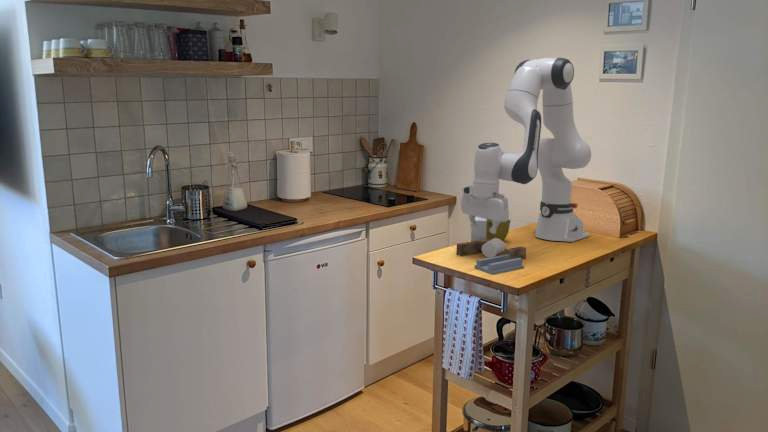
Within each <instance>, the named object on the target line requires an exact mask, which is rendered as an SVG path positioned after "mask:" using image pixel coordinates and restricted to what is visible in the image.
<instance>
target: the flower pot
mask: <svg viewBox="0 0 768 432" xmlns="http://www.w3.org/2000/svg"><path fill="white" fill-rule="evenodd" d="M492 226H493V224H492V220H488V219H487V236H486V239H489V238H490V239H494V238H498V239H500V240H501V241H503V242H504V241H505V239H506V238H507V236H508V234H509V231H510V226H511V219H509V218H508V220H507V222H500V223H499V225H498V227H497V228H496V233H494V234H492V233H490V232H489V231H490V228H492Z"/></svg>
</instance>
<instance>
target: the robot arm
mask: <svg viewBox="0 0 768 432" xmlns="http://www.w3.org/2000/svg"><path fill="white" fill-rule="evenodd" d="M574 76H575V68H574V64H573V63H572V62H571V60H570V59H568V58H565V57H564V58H563V57H542V58H536V59H527V60H523V61H521V62H519V63H518V64H517V66H516V67H515V69H514V75H513V77H512V79H511V81H510V84H509V85H508V89H507V92H506V95H505V100H504V103H503V105H504V107H503V108H504V112H505V113H506V114H507V115H508V117H509V118H510V119H512V121H515V122H517V123H518V124H521V125H522V126H523V127H524V137H523V138H524V139H523V145H522V151H521V152H519V153H515V152H514V153H513V152H507V151H504V150H502V149H501V147H500V144H499V143H496V142H483V143H481V144H479V145H478V146H477V147H476V151H475V154H474V161H473V171H474V177H473V179H472V184H471V185H467V186H463V187H462V189H461V192H462V195H461V201H460V203H461V204H460V205H461V206H460V210H461V212H462V214H464V215H468V220H469V222H470V228H477V223H476V221H475V218H476V216H477V217H481V218H484V219H488V220H492V224H493V226H492V228H490V231H489V232H490V233H492V234H494V233H496V228H497V227H498V225H499V223H500V222H507V220H508V219H509V218H510V215H509V214H510V213H509V201H508V200H509V198H507V196H506V195H505V194H502V193H500V180H501V181H505V182H506V181H507V182H514V183H517V184H521V185H527V184H529V183H530V182H532V181H533V180H534V179H535V178H536V176H538V175H537V174H538V170H539V174H540V176H541V177H540V178H541V182H542V184H541V185H542V187H541V188H542V190H541V201H540V203H539V210H540V212H539V214H538V218H537V224H536V229H535V230H534V233H535V236H534V237H536V238H538V239H541V240H547V241H554V242H555V241H556V242H567V243H568V242H571V243H573V242H577V241H580V240H581V239H585V238H587V237H590V233H588V232H586V231H584V221H582V219H581V218H580V217H579V216H577V214H576V213H574V209H578V205H579V204H578V203H574V202H572V190H573V189H572V188H573V185H572V182H571V180H570V179H569V178H568V177H566V175H565V173H564V171H563V169H570V170H575V169H576V170H578V169H584V168H585V167H587V166H588V165H589V164H590V162H591V158H592V149H591V147H590V145H589V144H588V143H587V142H586V141H584V139H582V137H581V134H580V133H579V132H578V130H577V127H576V124H575V119H574V117H575V116H574V106H573V105H574V104H573V102H574V101H573V99H574V98H573V92H572V84H571V83H572V81H573V79H574ZM541 90H542V96H541V97H542V99H541V100H542V114H541V112H540V111H538V100H539V97H540V94H541ZM542 118H543V119H542ZM542 120H543V125H544V127H545V129H547V130H549V132H550V133H551V135H552V136H553V137H545V138H541V132H542Z"/></svg>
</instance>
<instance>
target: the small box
mask: <svg viewBox="0 0 768 432" xmlns="http://www.w3.org/2000/svg"><path fill="white" fill-rule="evenodd" d="M475 221H476V223H477V228H471V227H470V228H471V229H470V230H471V233H470V242H471V241H477V240H483V239H486V236H487V219H484V218H481V217H477V216H476V218H475Z"/></svg>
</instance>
